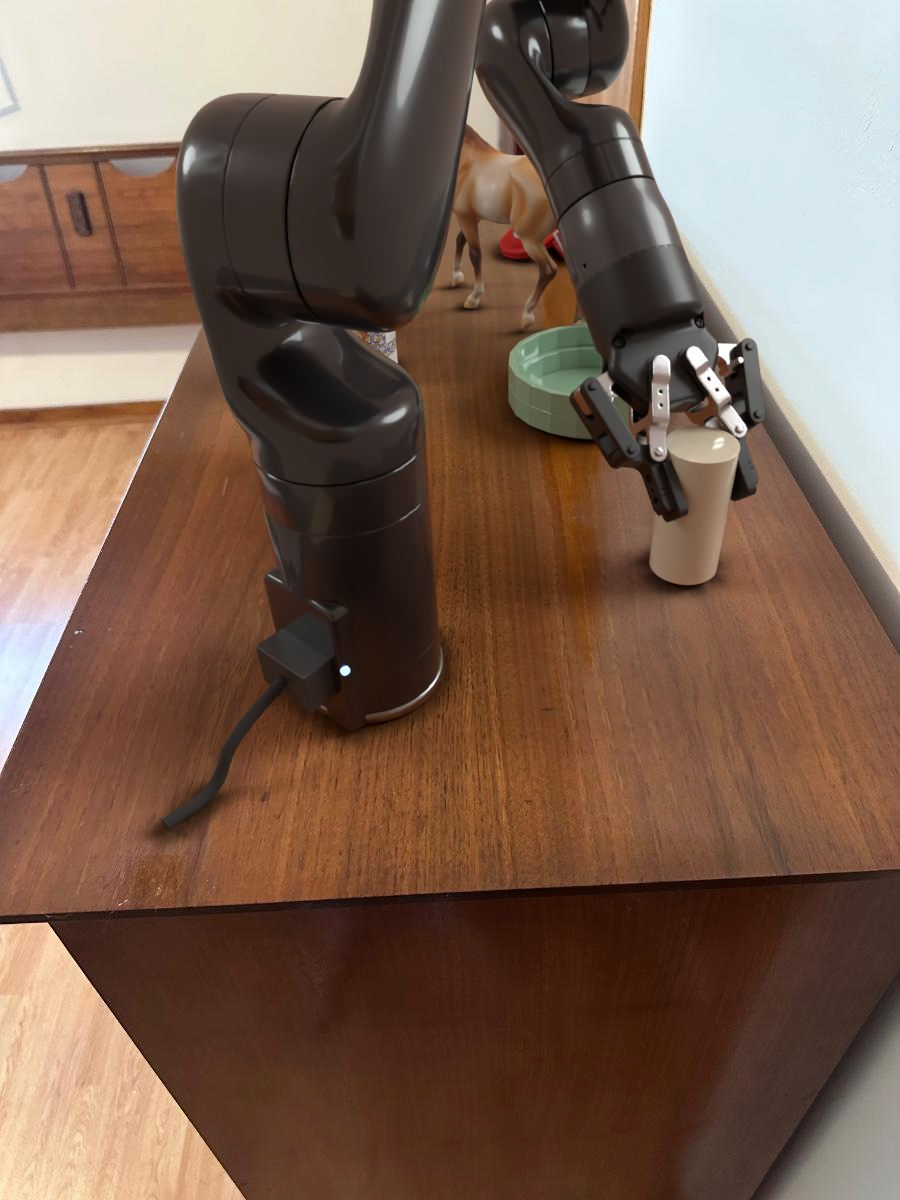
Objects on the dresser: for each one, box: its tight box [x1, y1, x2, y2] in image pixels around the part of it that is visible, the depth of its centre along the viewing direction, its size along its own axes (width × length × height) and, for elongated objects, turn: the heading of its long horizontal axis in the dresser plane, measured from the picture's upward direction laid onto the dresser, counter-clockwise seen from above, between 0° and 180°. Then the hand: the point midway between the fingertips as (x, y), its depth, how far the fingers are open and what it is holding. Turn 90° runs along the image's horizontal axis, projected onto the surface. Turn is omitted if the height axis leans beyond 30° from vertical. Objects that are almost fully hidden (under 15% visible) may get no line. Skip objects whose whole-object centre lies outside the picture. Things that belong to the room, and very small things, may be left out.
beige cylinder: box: [648, 425, 740, 586], centre depth 61 cm, size 5×5×10 cm
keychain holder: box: [499, 227, 565, 260], centre depth 114 cm, size 12×4×10 cm
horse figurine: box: [451, 122, 587, 331], centre depth 94 cm, size 31×8×21 cm, turn 39°
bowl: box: [507, 324, 629, 440], centre depth 83 cm, size 15×15×4 cm
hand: (711, 506), depth 59 cm, fingers closed on beige cylinder, 4 cm apart
